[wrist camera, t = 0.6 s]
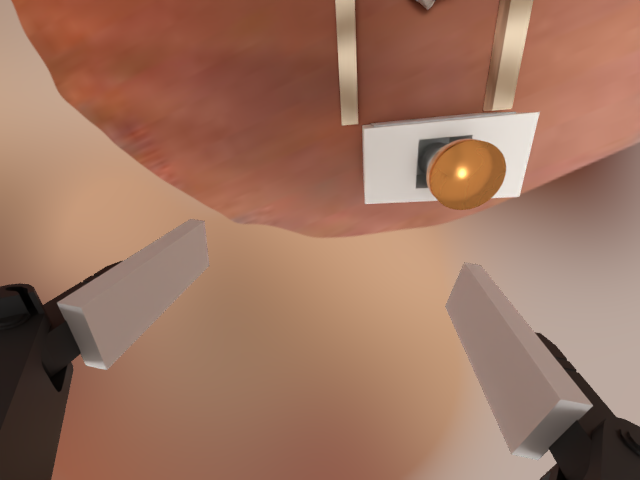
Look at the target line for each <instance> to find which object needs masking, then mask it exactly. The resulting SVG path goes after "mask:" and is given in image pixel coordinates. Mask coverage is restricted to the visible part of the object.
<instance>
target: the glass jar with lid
mask: <svg viewBox="0 0 640 480" xmlns="http://www.w3.org/2000/svg"><path fill="white" fill-rule="evenodd" d="M418 164H419V167H420V169H421V171H422V172H424V173H425V174H426V181H427V185H428V188H429V190H430V192H431V193H432V194H433V196H434V197H435V198H436V199H437V200H438V201H439V202H440V203H441V204H443V205H444V206H446V207H449V208H452V209H457V210H466V209H471V208H475V207H477V206H480V205H482V204H484V203H485V202H487V201H488V200H490V199H491V198H492V197H493V196H494V195H495V194H496V193H497V191H498V190H499V189H500V187H501V185H502V184H503V181H504V178H505V175H506V162H505V158H504V156H503V154H502V152H501V151H500V150H499V149H498V148H497V147H496V146H494V145H493V144H491V143H488V142H485V141H481V140H475V139H460V140H456V141H453V142H451V143H449V144H445V143H442V142H435V143H431V144H429V145H428V146H426V147H425V148H424V149H423V150H422V152H421V153H420V155H419V160H418Z"/></svg>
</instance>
